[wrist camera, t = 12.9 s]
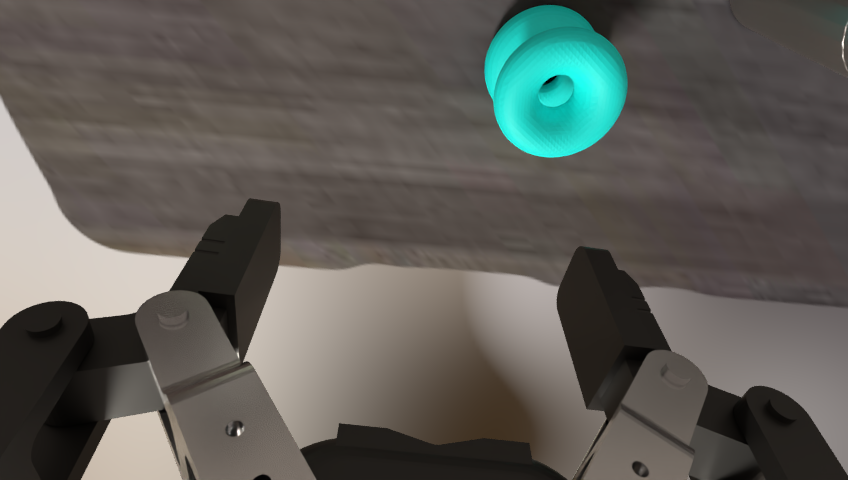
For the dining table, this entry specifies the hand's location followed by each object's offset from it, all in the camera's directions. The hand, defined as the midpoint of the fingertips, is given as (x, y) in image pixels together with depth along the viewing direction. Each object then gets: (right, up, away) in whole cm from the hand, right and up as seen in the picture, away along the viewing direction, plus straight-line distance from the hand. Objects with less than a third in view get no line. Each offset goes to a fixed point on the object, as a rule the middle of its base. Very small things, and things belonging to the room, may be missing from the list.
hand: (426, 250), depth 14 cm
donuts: (+10, +16, +32) cm, 37 cm away
